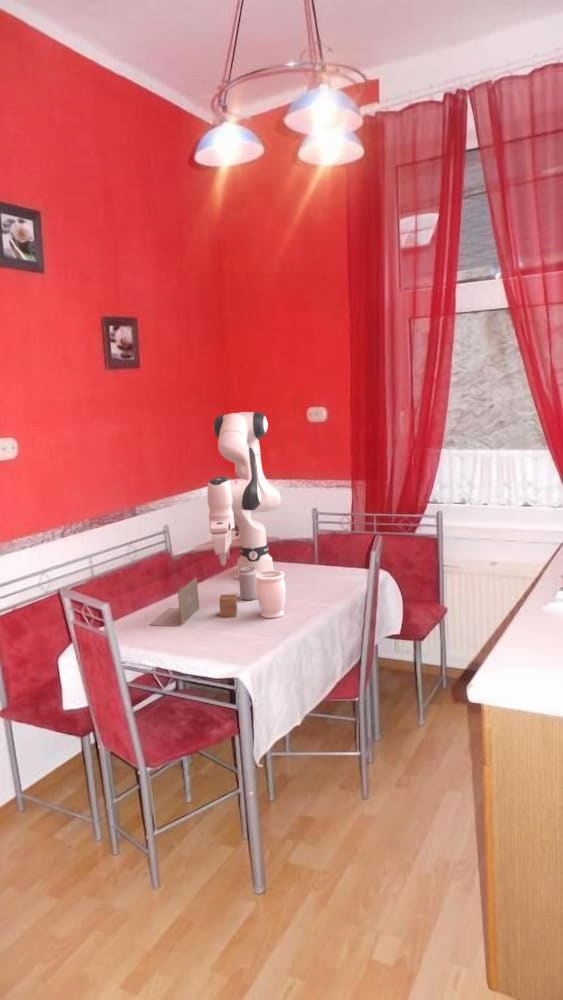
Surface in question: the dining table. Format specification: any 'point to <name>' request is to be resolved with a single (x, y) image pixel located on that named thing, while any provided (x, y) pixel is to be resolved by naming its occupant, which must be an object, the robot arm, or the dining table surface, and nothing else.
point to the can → (248, 583)
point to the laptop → (181, 607)
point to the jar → (271, 593)
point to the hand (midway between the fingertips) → (225, 561)
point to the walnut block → (228, 605)
